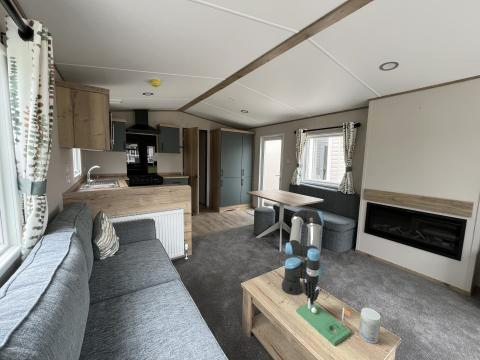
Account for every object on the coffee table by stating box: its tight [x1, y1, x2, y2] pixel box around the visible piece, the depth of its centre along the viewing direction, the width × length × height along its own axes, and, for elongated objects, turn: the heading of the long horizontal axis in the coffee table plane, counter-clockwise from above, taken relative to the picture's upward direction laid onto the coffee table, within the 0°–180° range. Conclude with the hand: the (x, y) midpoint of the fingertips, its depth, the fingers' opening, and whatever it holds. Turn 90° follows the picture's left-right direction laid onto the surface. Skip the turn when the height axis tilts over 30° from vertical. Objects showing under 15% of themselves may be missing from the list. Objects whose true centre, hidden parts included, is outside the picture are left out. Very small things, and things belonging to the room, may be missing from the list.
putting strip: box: [295, 302, 352, 346], centre depth 129 cm, size 28×15×14 cm, turn 31°
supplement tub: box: [358, 307, 382, 344], centre depth 119 cm, size 10×10×15 cm
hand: (310, 307), depth 136 cm, fingers closed
